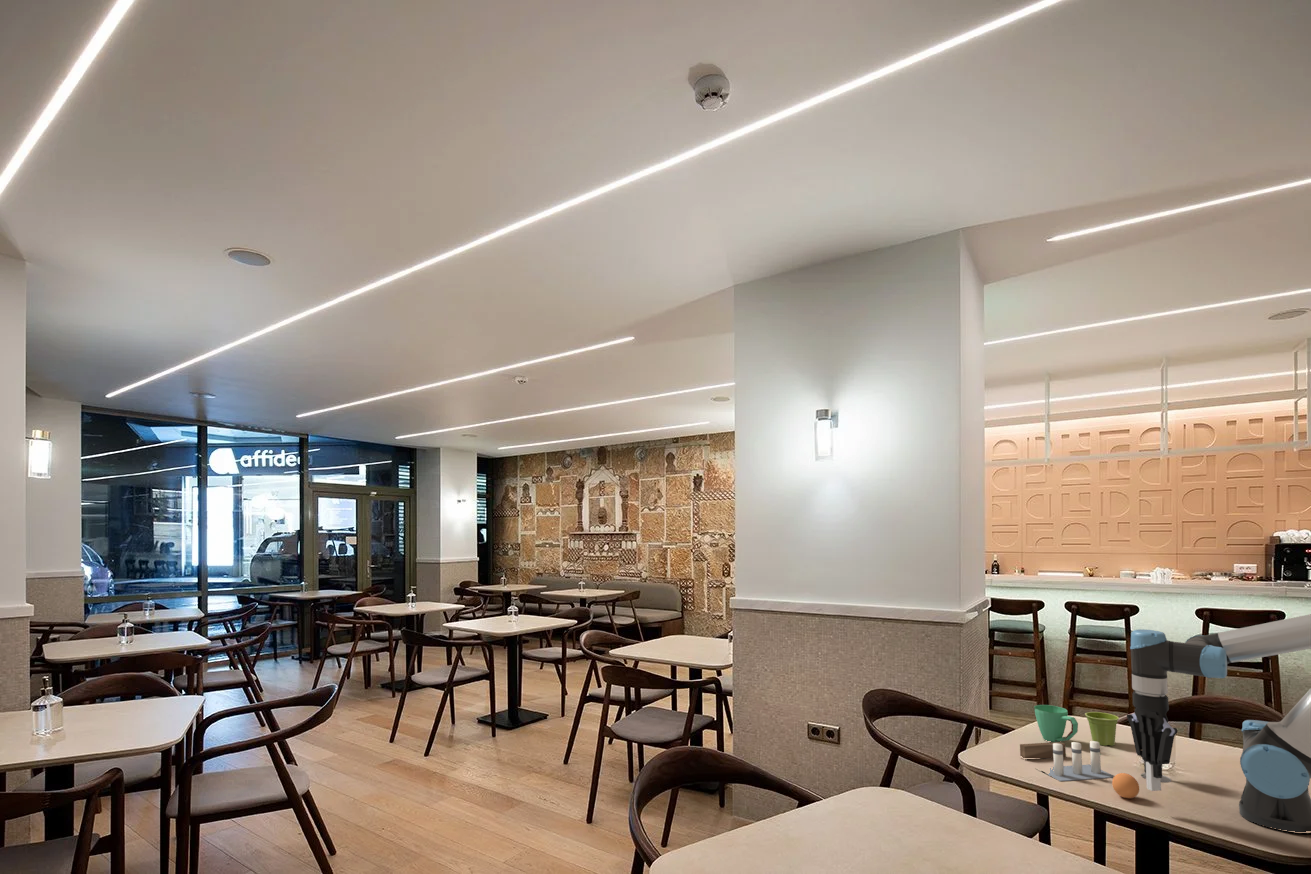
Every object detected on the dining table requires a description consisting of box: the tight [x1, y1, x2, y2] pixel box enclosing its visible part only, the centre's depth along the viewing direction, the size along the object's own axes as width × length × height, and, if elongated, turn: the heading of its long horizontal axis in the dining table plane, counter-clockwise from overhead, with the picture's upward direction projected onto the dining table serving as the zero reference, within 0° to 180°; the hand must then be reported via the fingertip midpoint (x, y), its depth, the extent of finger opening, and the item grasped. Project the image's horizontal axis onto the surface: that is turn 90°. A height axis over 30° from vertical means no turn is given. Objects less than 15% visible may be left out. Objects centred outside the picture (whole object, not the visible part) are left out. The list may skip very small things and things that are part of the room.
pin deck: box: [1047, 764, 1115, 782], centre depth 208 cm, size 10×18×1 cm, turn 100°
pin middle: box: [1070, 741, 1083, 775], centre depth 208 cm, size 2×2×8 cm
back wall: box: [1019, 741, 1067, 759], centre depth 221 cm, size 2×14×4 cm, turn 100°
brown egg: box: [1111, 772, 1140, 799], centre depth 191 cm, size 6×6×6 cm
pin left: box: [1053, 743, 1065, 776], centre depth 207 cm, size 2×2×8 cm
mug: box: [1033, 704, 1079, 742], centre depth 236 cm, size 15×10×10 cm
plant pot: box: [1084, 711, 1120, 747], centre depth 236 cm, size 9×9×9 cm
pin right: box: [1089, 740, 1102, 774], centre depth 209 cm, size 2×2×8 cm
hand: (1153, 789), depth 182 cm, fingers closed
